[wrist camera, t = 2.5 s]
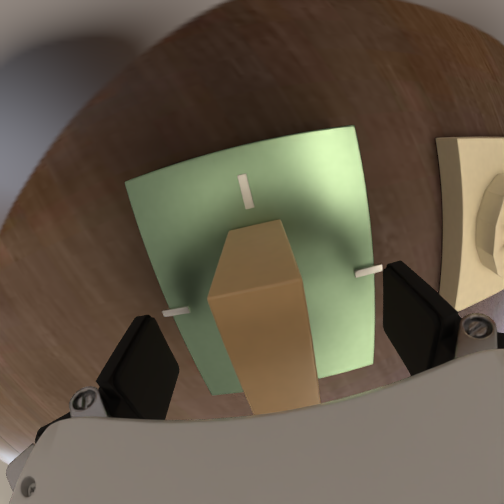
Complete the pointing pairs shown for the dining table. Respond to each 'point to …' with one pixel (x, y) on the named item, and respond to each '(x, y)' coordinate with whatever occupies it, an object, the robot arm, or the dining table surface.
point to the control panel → (260, 211)
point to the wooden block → (265, 319)
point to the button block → (471, 218)
